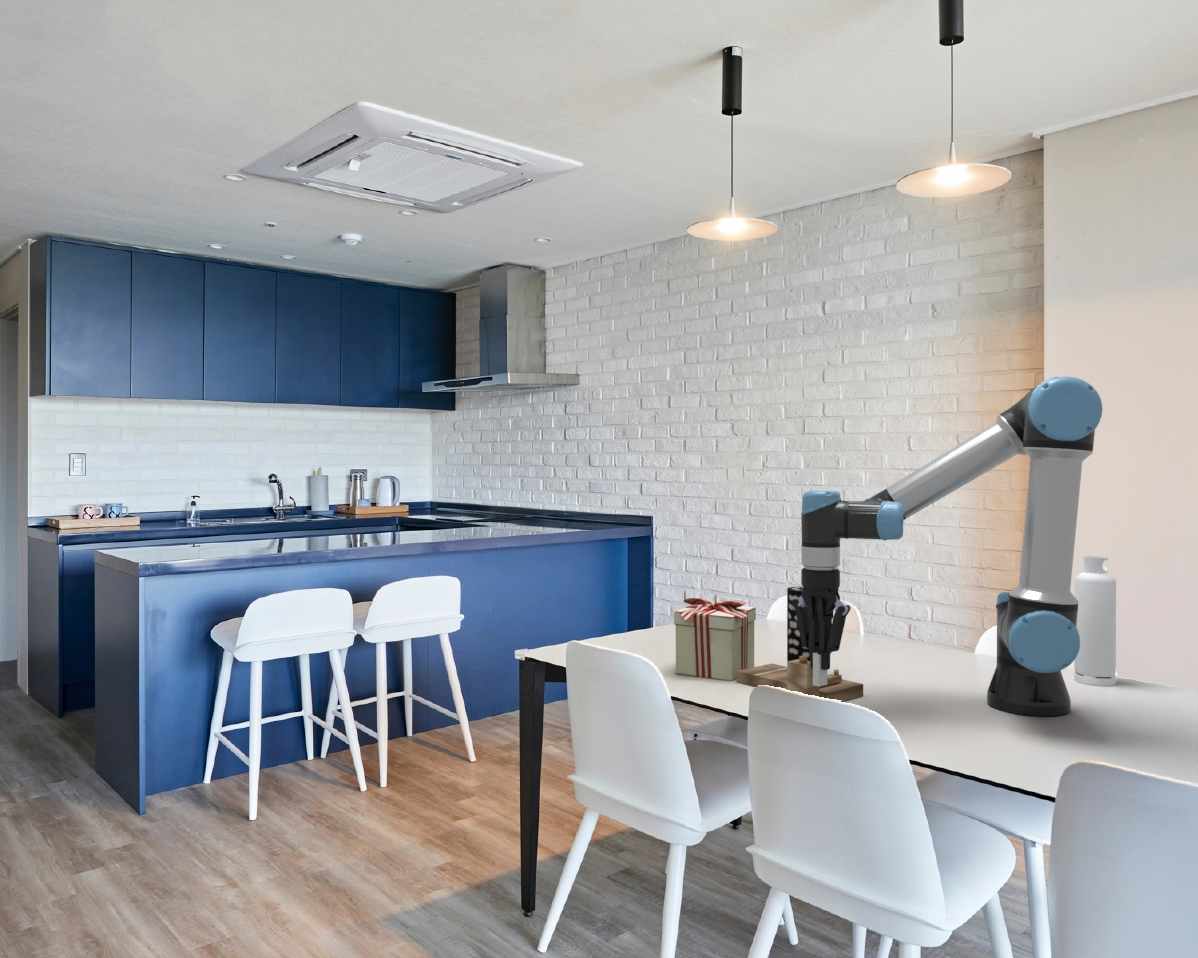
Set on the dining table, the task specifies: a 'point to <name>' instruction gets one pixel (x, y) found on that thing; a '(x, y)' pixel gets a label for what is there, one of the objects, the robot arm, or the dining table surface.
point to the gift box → (714, 638)
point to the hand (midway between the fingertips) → (820, 684)
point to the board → (778, 678)
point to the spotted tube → (794, 628)
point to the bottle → (1096, 624)
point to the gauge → (806, 677)
